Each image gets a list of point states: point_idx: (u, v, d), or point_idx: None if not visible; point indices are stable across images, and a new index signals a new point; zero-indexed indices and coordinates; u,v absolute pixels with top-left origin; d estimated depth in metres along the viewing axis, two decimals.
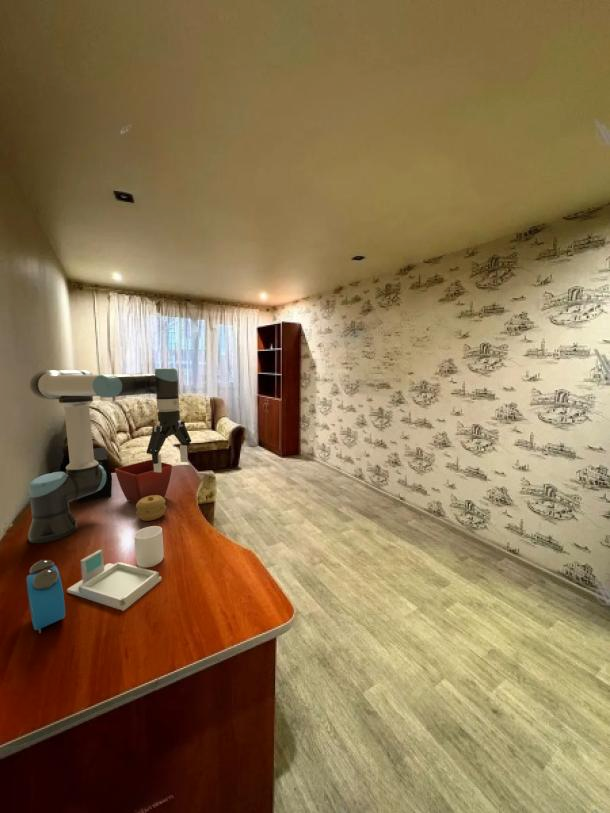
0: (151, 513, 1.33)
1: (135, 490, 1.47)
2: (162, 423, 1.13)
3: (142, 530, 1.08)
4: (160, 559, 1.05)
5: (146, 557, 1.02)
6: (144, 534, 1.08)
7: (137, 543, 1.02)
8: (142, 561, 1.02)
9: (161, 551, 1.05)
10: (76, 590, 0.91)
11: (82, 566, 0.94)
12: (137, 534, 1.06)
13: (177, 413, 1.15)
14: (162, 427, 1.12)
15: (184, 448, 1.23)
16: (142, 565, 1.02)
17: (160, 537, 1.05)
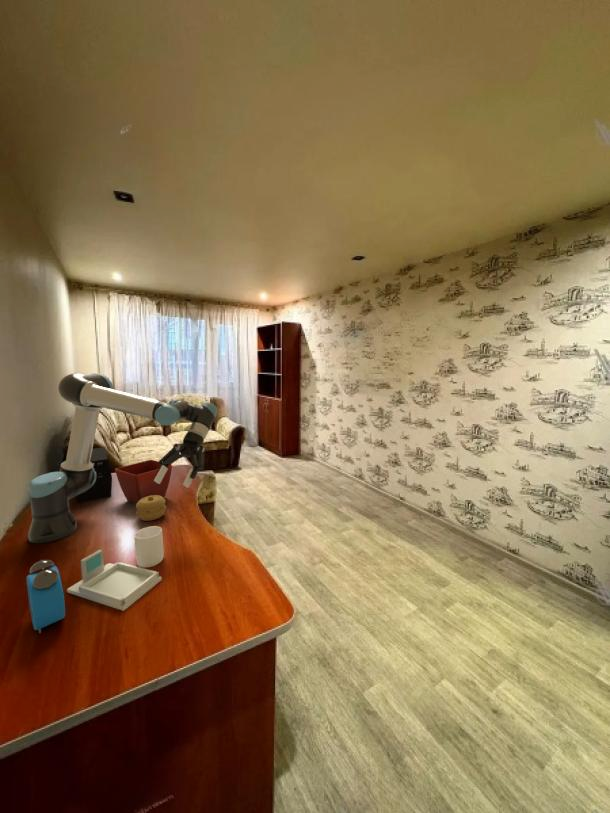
0: (151, 513, 1.33)
1: (135, 490, 1.47)
2: (199, 446, 1.25)
3: (142, 530, 1.08)
4: (160, 559, 1.05)
5: (146, 557, 1.02)
6: (144, 534, 1.08)
7: (137, 543, 1.02)
8: (142, 561, 1.02)
9: (161, 551, 1.05)
10: (76, 590, 0.91)
11: (82, 566, 0.94)
12: (137, 534, 1.06)
13: None
14: None
15: (165, 470, 1.23)
16: (142, 565, 1.02)
17: (160, 537, 1.05)
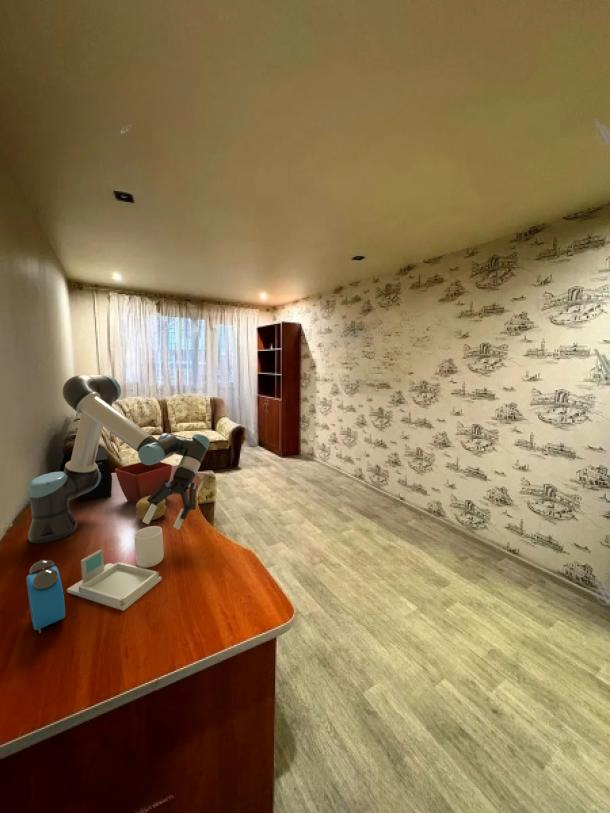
0: None
1: (135, 490, 1.47)
2: (190, 482, 1.20)
3: (142, 530, 1.08)
4: (160, 559, 1.05)
5: (146, 557, 1.02)
6: (144, 534, 1.08)
7: (137, 543, 1.02)
8: (142, 561, 1.02)
9: (161, 551, 1.05)
10: (76, 590, 0.91)
11: (82, 566, 0.94)
12: (137, 534, 1.06)
13: None
14: None
15: (155, 508, 1.17)
16: (142, 565, 1.02)
17: (160, 537, 1.05)
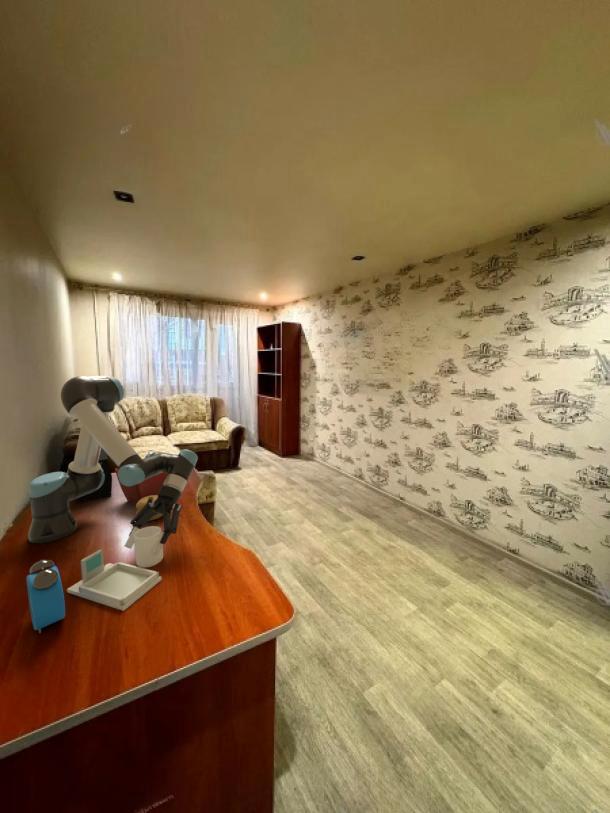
0: None
1: (135, 490, 1.47)
2: (175, 501, 1.14)
3: (142, 530, 1.08)
4: (159, 559, 1.05)
5: (146, 557, 1.02)
6: (143, 534, 1.08)
7: (136, 543, 1.02)
8: (141, 561, 1.02)
9: (160, 551, 1.05)
10: (76, 590, 0.91)
11: (82, 566, 0.94)
12: (136, 534, 1.06)
13: None
14: None
15: None
16: (141, 565, 1.02)
17: None
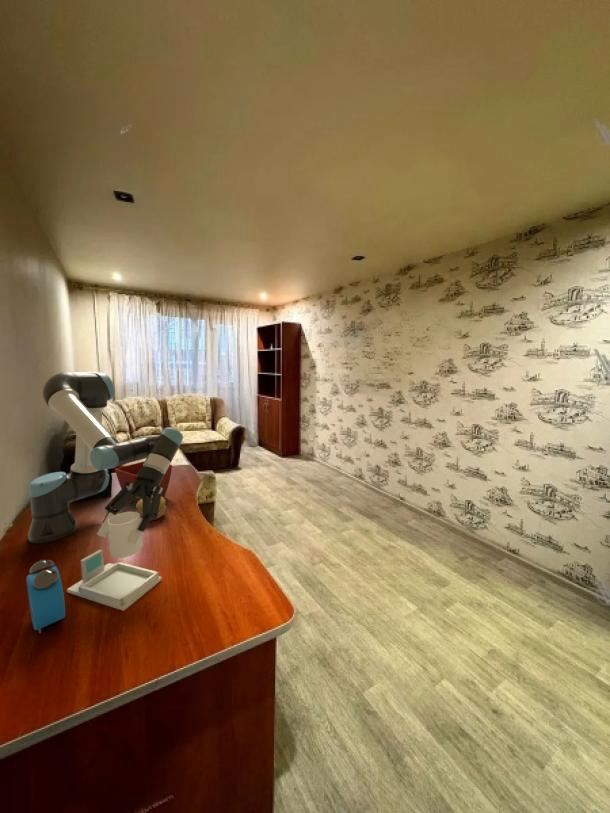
0: None
1: None
2: (156, 484, 1.01)
3: (117, 516, 0.94)
4: (138, 548, 0.92)
5: (121, 546, 0.89)
6: (119, 520, 0.95)
7: (110, 530, 0.89)
8: (116, 550, 0.89)
9: (138, 539, 0.92)
10: (76, 590, 0.91)
11: (82, 566, 0.94)
12: (111, 520, 0.92)
13: None
14: None
15: None
16: (116, 555, 0.89)
17: None
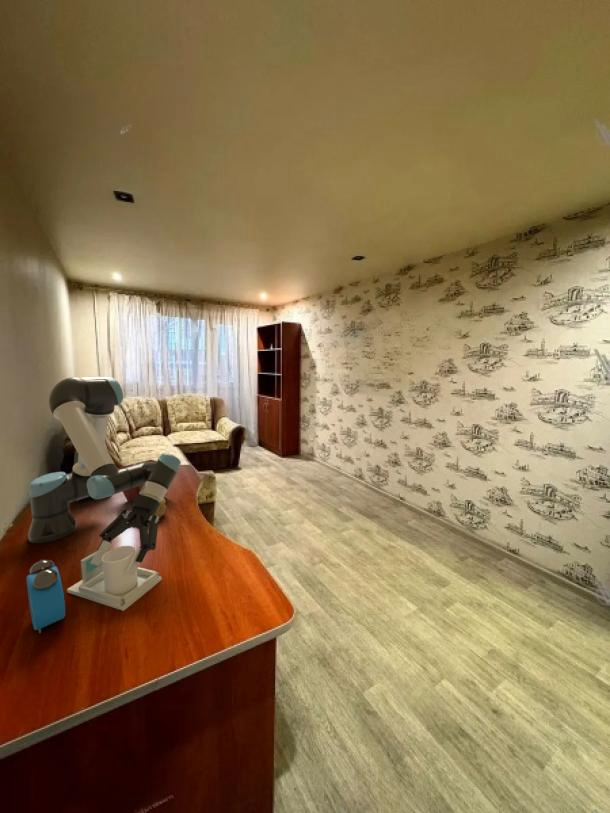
0: None
1: (135, 490, 1.47)
2: (152, 513, 0.99)
3: (112, 551, 0.93)
4: (132, 585, 0.91)
5: (115, 584, 0.88)
6: (114, 555, 0.94)
7: (104, 567, 0.88)
8: (110, 588, 0.88)
9: (133, 576, 0.91)
10: (76, 590, 0.91)
11: (82, 566, 0.94)
12: (106, 556, 0.91)
13: None
14: None
15: (108, 546, 0.96)
16: (110, 593, 0.88)
17: None
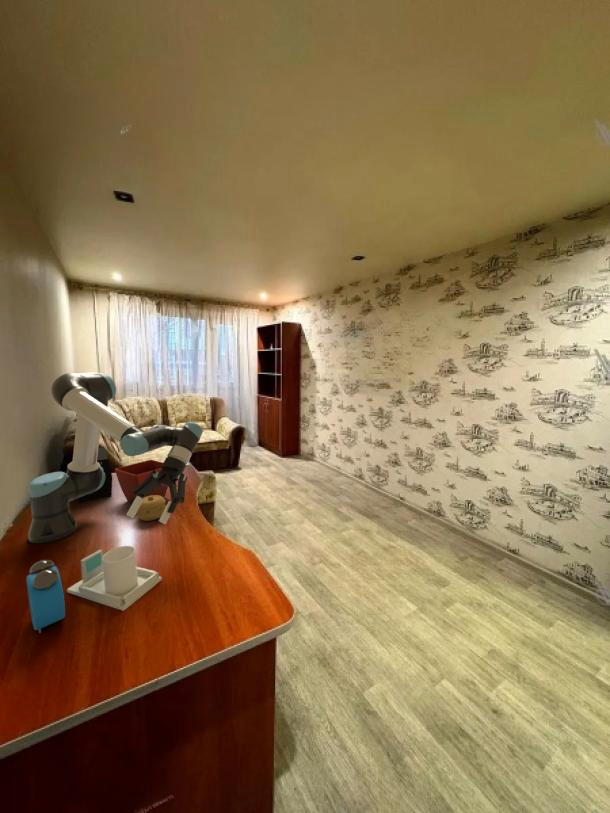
0: (151, 513, 1.33)
1: None
2: (179, 473, 1.10)
3: (113, 551, 0.93)
4: (132, 585, 0.91)
5: (115, 584, 0.88)
6: (115, 555, 0.94)
7: (104, 567, 0.88)
8: (110, 588, 0.88)
9: (133, 576, 0.91)
10: (76, 590, 0.91)
11: (82, 566, 0.94)
12: (106, 556, 0.91)
13: None
14: None
15: (141, 501, 1.07)
16: (110, 593, 0.88)
17: (132, 560, 0.91)
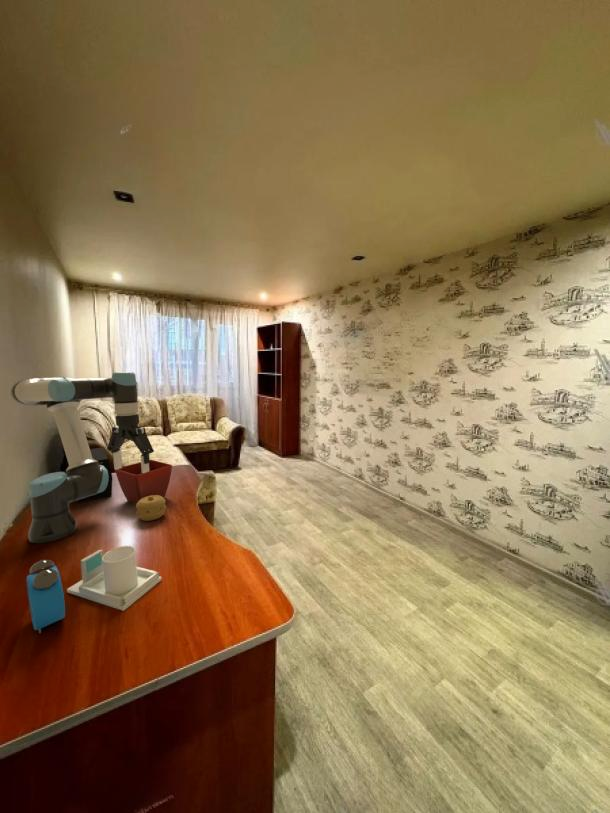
0: (151, 513, 1.33)
1: (135, 490, 1.47)
2: (136, 426, 1.15)
3: (113, 551, 0.93)
4: (132, 585, 0.91)
5: (115, 584, 0.88)
6: (115, 555, 0.94)
7: (104, 567, 0.88)
8: (110, 588, 0.88)
9: (133, 576, 0.91)
10: (76, 590, 0.91)
11: (82, 566, 0.94)
12: (106, 556, 0.91)
13: None
14: None
15: (119, 454, 1.21)
16: (110, 593, 0.88)
17: (132, 560, 0.91)
